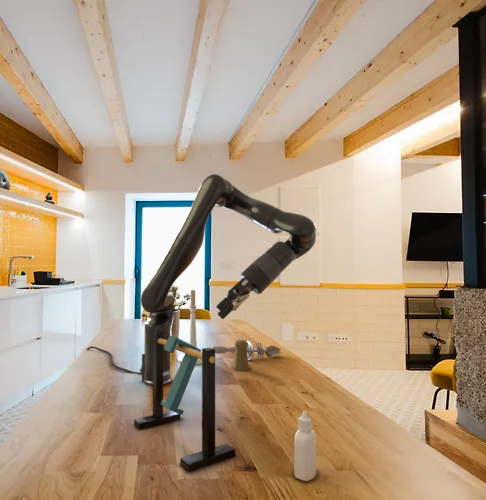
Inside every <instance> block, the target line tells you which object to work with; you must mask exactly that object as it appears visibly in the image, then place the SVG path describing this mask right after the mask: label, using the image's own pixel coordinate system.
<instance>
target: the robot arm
mask: <svg viewBox="0 0 486 500" xmlns="http://www.w3.org/2000/svg"><path fill="white" fill-rule="evenodd" d="M215 207H217V208H222V209H226V210H230V211H233V212H234V213H238V214H239V215H241V216H243V217H245V218H246V219H248V220H249V221H250V222H253V223H254V224H256V225H257V226H259V227H261V228H263V229H265V230H266V231H268V232H271V233H272V234H275V235H280V234H281V233H283V232H284V233H286V234H289V237H288V238H287V240H285V241H277V242H275V243H273V244H272V245H271V246H270V247H269V248H267V250H265V252H263V253H262V254H261V255H260V256H257V258H256V259H255V260H254V261H253V262H252V263H251V264H249V265H248V266H247V267H246V268H245V269H244V270H243V271H242V272H241V273H240V278H241V279H240V280H239V281H238V282H237V283H235V284H234V285H233V286H232V287H231V288H230V289H229V290H228V291H227V294H226V295H225V297H224V298H223V299H222V300H221V301H220V302H218V304H217V305H216V309H217V310H218V312H217V316H218V317H219V318H220V319H221V320H224V319H225V318H227V317H228V316H229V314H230V313H232V312H235V311H237V309H238V308H239V307H241V305H243V303H245V301H246V300H248V299H249V297H250V294H251V292H254V294H257V295H260V294H262V293H263V292H264V291H265V290H266V289H267V288H269V286H270V285H271V284H272V283H273V282H275V281H276V280H277V279H278V277H279V276H280V275H281V274H282V272H283V271H285V270H286V269H287V267H288V266H290V265H291V264H292V263H293V262H294V261H296V260H298V259H299V258H301V257H302V256H304V255H306V254H308V252H310V251H311V249H313V247H314V245H315V243H316V241H317V239H316V238H317V228H316V223H315V222H314V221H313V220H312V219H311V218H310V217H307V216H306V215H303V214H299V213H294V212H288V211H284V210H282V209H281V208H278V207H276V206H274V205H272V204H270V203H267V202H265V201H262V200H260V199H257V198H253V197H252V196H249V195H247V194H245V193H244V192H242V191H241V190H240V189H238V188H237V187H236V186H234V184H232V183H231V182H230V181H229V180H228V179H226V178H224V176H221V175H220V174H216V173H213V174H210V175H208V176H206V177H205V178H204V180H203V181H202V182H201V184H200V186H199V188H198V191H197V193H196V195H195V197H194V200H193V202H192V204H191V207H190V209H189V211H188V213H187V215H186V217H185V219H184V220H183V222H182V224H181V225H180V228H179V230H178V231H177V233H176V235H175V237H174V238H173V240H172V242H171V244H170V245H169V248H168V249H167V252H166V253H165V255H164V257H163V259H162V260H161V263H160V264H159V267H158V268H157V270H156V272H155V273H154V275H153V276H152V278H151V279H150V281H149V282H148V283H147V284H146V286H145V288H144V289H143V291H142V293H141V296H140V305H141V307H142V309H143V310H144V311H145V312H147V313H149V316H148V318H147V320H146V321H145V323H144V339H143V341H144V351H143V353H141V368H139V371H140V372H137V371H132V370H129V369H128V368H124V367H122V366H121V367H120V366H118V365H116V364H115V362H114V359H113V354H112V353H111V352H109V351H108V350H105V349H102V348H100V347H97V346H94V345H93V346H89V347H87V348H86V351H89V350H90V349H95V350H97V351H100V352H102V353H105V354H108V355H109V357H110V363H111V365H112V366H113V367H114V368H116V369H118V370H120V371H123V372H126V373H130V374H137V375H141V383H144V384H147V385H150V386H153V332H159V331H160V332H163V339H165V340H168V338H169V335H171V336H172V325H173V322H174V310H175V307H174V306H175V297H174V294H173V291H172V288H173V286H174V283H176V281H177V279H179V277H180V276H181V275H182V274H183V273H184V272H185V271H186V270H187V269H188V268H189V267H190V265H191V264H192V263H193V262H194V260H195V258H196V256H197V255H198V254H199V251H200V249H201V247H202V246H203V243H204V238H205V231H206V225H207V222H208V219H209V216H210V215H211V213H212V211H213V209H214V208H215ZM164 347H165V345H163V386H164V385H168V384H170V383H171V382H172V353H171V352H169V351H166V350H164Z"/></svg>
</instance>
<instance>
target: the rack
mask: <svg viewBox="0 0 486 500" xmlns="http://www.w3.org/2000/svg"><path fill="white" fill-rule="evenodd" d="M166 342H167V340H165V339H163V332H160V331H159V332H153V385H152V414H151V415H146V416H143V417H138V418H134V419H133V425H134V427H135V428H136V429H138V430H139V431H140V430H143V429H147V428H151V427H155V426H159V425H163V424H164V425H165V424H168V423H172V422H175V421H180V420H181V414H178V413H175V412H173V411H170V410H167V411H164V406H162V405H161V402H162V400H163V401H164V385H163V345H166ZM174 351H178V352H180V353H183V354H185V353H186V354H188V355H191V356H194V357H196V358H199V359H202V364H201V451H198V452H194V453H192V454H188V455H185V456H182V457H180V459H179V461H180V464H179V465H180V467H182V468H183V469H184V470H185V471H186V472H188V473H191V472H193V471H197V470H200V469H203V468H205V467H208V466H211V465H214V464H217V463H220V462H223V461H226V460H229V459H232V458H235V457H236V454H237V453H236V452H237V451H236V448H235V447H234V446H232V445H230V444H228V443H224V444H221V445H218V446H216V353H215V349H213V347H202V348H201V352H199V351H196V350H193V349H190V348H188V347H185V346H182V345H179V344H177V346H176V348H175V350H174Z"/></svg>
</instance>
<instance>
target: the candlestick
mask: <svg viewBox="0 0 486 500" xmlns="http://www.w3.org/2000/svg"><path fill="white" fill-rule="evenodd" d="M188 307H189V311H190V316H189V317H190V320H189V336H188V337H189V338H188V339H189V340H188V342H189V344H191V345H193V346H195V347H197V348H198V344H197V343H198V342H197V326H196V325H197V323H196V311H197V307H198V305H196V290H195V289H190V305H188ZM184 354H185V353H183V354H181V355H179V356H178V357H177V362H178V363H181V362H182V359H183V357H184ZM196 365H202V359H199V358H198V360H197V362H196Z"/></svg>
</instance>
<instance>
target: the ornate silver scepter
mask: <svg viewBox="0 0 486 500" xmlns="http://www.w3.org/2000/svg"><path fill="white" fill-rule="evenodd" d="M246 341H247V343H248V347H247V356H248V361H251V360H252V358H253V357H254V354H256V357H257V359H258V360H259V359H260V360H263V359H264V355H266V357H268V358H269V357H273V356H276V355H280V354H282V352H281V351H282V350H281V348H279V346H275V345H274V344H273V345H272V344H271V345H270V346H265V347H263V346H262V342H255V347H254V345H253V344H252V342H251V341H249V340H246ZM212 348H213V349H215V354H218V355H219V354H220V355H224V354H227V353H230V354H232V355H233V354H234V355H235V352H236V348H235V346H231V347H226V346H222V345H221V346H220V345H216V346H213V347H212Z"/></svg>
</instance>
